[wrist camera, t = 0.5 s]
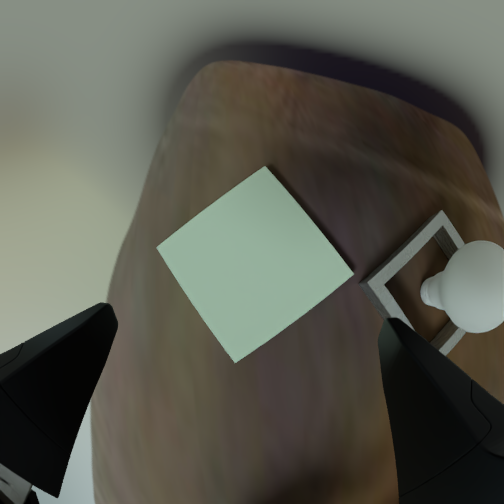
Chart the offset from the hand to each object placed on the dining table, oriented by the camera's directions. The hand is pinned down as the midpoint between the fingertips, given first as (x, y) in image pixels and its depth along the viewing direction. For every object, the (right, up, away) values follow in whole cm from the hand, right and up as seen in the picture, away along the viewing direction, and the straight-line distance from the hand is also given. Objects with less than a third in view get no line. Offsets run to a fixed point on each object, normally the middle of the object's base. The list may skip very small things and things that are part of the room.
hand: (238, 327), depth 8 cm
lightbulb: (+16, -1, +13) cm, 21 cm away
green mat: (0, +1, +15) cm, 15 cm away
